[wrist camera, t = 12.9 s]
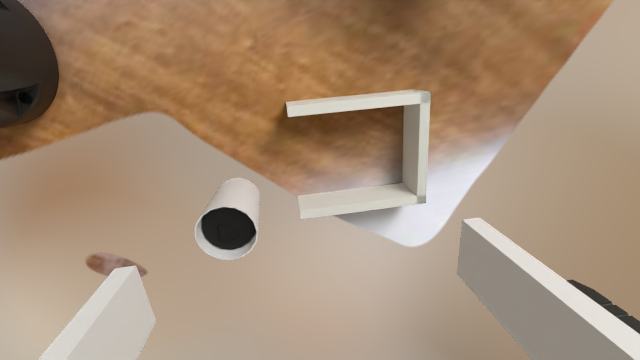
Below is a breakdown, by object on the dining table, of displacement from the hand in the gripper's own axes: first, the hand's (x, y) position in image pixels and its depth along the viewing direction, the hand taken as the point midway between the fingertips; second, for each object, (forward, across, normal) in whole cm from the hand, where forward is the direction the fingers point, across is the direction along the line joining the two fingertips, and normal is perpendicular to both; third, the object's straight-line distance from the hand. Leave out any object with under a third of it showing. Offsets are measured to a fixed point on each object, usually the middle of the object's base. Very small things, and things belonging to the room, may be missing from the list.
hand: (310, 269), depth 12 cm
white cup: (+29, -8, -8) cm, 31 cm away
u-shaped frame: (+29, +8, -3) cm, 30 cm away
